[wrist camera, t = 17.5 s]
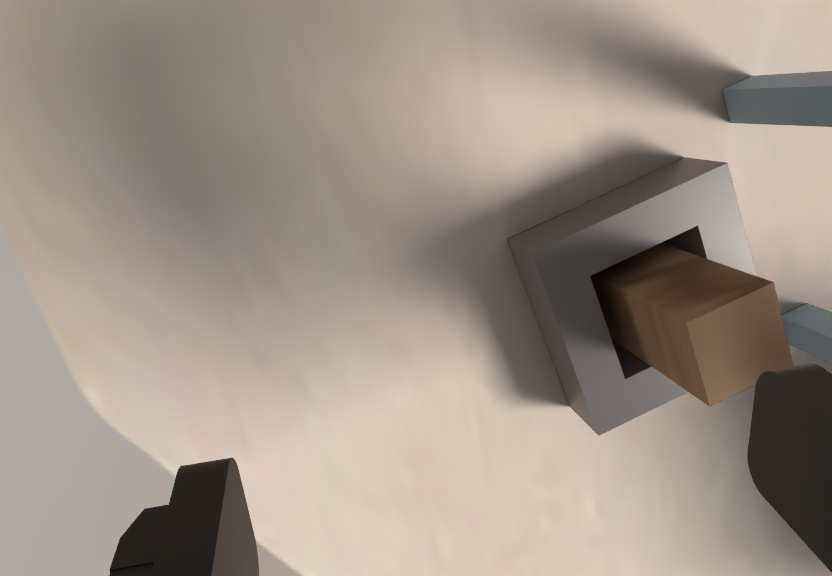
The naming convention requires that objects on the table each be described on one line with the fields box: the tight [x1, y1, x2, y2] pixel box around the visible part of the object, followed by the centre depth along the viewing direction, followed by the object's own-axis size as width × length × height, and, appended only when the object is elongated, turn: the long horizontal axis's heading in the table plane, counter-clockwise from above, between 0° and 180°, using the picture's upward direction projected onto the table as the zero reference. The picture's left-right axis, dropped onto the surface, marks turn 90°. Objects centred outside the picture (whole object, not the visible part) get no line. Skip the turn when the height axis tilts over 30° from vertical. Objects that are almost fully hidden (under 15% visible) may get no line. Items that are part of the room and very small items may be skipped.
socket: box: [507, 158, 757, 435], centre depth 40 cm, size 12×12×4 cm
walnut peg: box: [590, 243, 793, 406], centre depth 37 cm, size 4×4×11 cm
